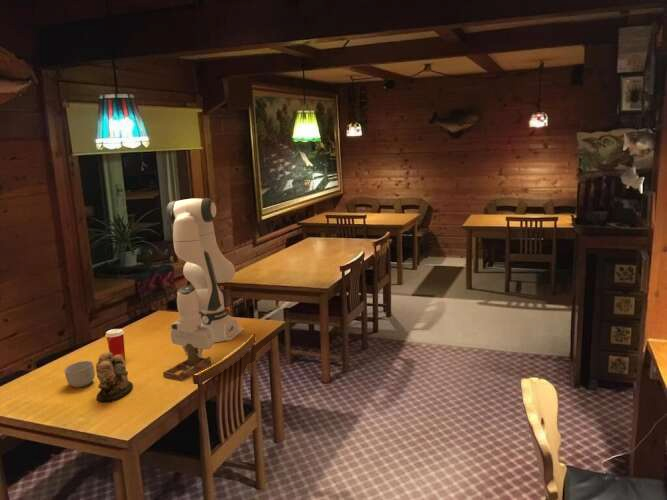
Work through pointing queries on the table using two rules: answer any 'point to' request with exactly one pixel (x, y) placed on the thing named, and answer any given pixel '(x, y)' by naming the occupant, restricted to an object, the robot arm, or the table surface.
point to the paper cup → (116, 342)
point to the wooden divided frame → (186, 369)
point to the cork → (192, 355)
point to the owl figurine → (112, 378)
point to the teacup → (80, 373)
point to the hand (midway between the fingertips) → (193, 355)
